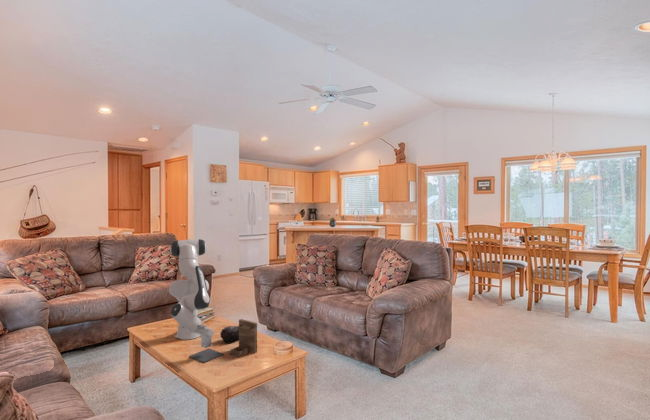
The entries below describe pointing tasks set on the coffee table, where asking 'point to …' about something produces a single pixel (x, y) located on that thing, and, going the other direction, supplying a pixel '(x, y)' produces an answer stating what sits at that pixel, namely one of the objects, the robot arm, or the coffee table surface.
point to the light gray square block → (205, 341)
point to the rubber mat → (206, 355)
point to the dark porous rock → (230, 334)
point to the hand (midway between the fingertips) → (207, 336)
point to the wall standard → (246, 338)
